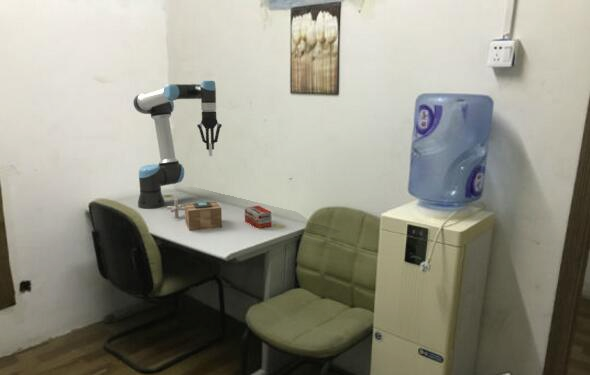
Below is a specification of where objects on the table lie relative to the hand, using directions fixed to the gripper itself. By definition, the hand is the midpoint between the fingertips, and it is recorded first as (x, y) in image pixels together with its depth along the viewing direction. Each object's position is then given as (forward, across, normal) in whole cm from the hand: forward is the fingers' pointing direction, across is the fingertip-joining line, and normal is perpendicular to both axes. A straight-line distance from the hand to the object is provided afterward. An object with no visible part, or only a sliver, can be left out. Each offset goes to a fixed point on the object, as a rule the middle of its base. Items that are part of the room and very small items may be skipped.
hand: (210, 155), depth 242 cm
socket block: (+32, -8, -18) cm, 38 cm away
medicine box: (+33, +19, -26) cm, 46 cm away
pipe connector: (+33, -19, 0) cm, 38 cm away
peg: (+29, -8, -18) cm, 35 cm away
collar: (+22, -8, -18) cm, 30 cm away
